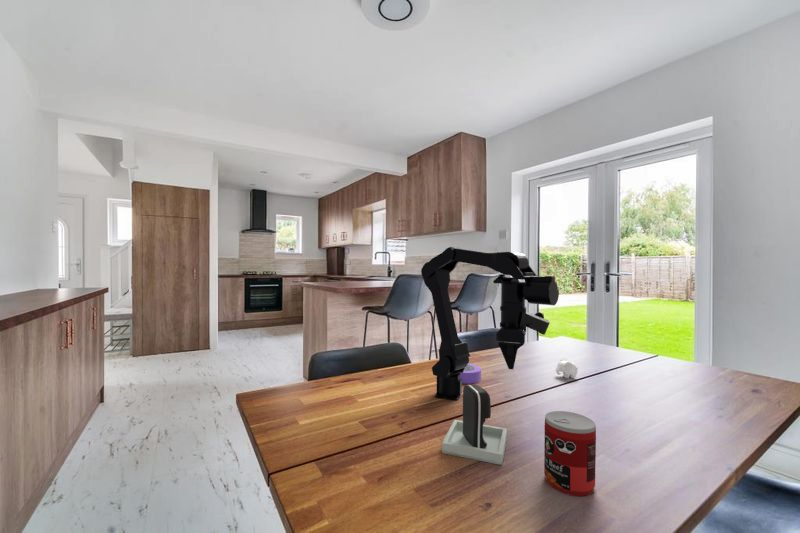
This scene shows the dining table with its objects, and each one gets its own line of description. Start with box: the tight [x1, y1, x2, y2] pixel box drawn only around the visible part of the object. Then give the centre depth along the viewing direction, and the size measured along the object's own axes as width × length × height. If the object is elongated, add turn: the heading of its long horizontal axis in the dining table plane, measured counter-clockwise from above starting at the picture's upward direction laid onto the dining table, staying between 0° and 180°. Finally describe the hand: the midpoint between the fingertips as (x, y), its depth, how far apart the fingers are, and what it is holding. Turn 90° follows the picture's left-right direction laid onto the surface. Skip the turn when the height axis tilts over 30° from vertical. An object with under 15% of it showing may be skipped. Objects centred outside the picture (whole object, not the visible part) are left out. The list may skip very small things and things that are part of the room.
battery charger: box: [462, 384, 492, 448], centre depth 74 cm, size 7×4×11 cm, turn 12°
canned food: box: [543, 410, 597, 497], centre depth 61 cm, size 8×8×11 cm
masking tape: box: [460, 362, 482, 385], centre depth 118 cm, size 12×12×4 cm
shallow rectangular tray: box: [441, 419, 508, 466], centre depth 73 cm, size 12×12×2 cm
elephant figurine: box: [555, 357, 580, 380], centre depth 121 cm, size 7×8×6 cm
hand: (512, 364), depth 88 cm, fingers open, 9 cm apart
